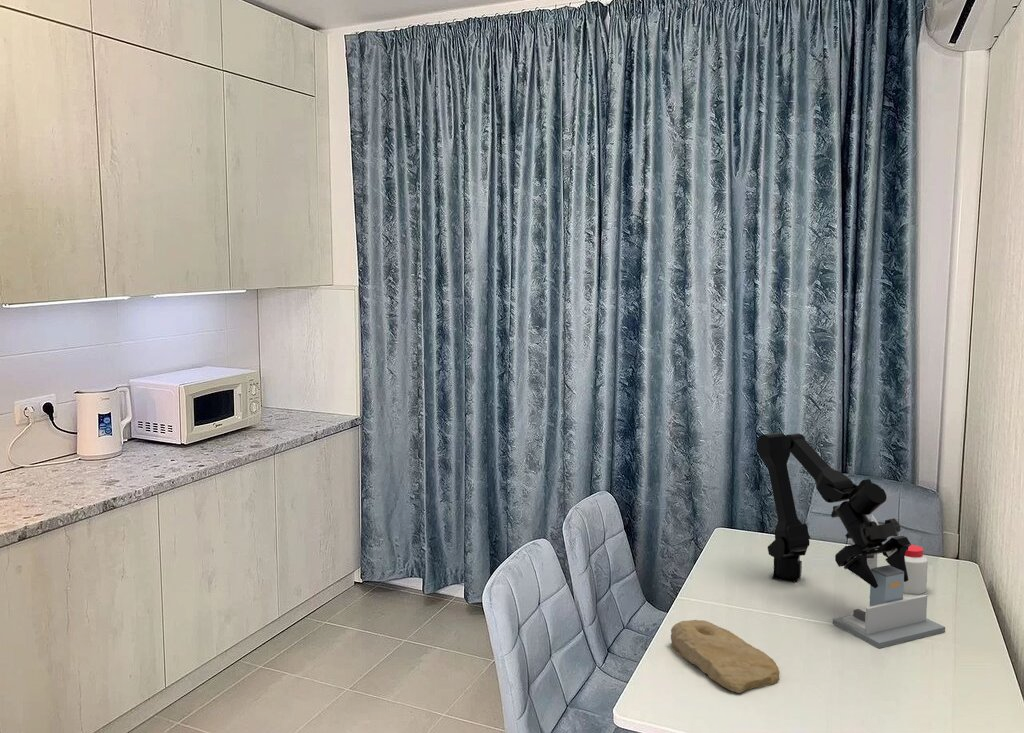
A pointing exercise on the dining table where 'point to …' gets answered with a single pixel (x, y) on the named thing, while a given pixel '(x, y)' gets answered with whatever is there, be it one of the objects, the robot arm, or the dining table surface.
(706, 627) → the stone
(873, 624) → the grey holder stand
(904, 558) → the robot arm
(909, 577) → the pill bottle
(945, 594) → the dining table surface
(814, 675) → the dining table surface
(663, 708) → the dining table surface
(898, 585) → the block
